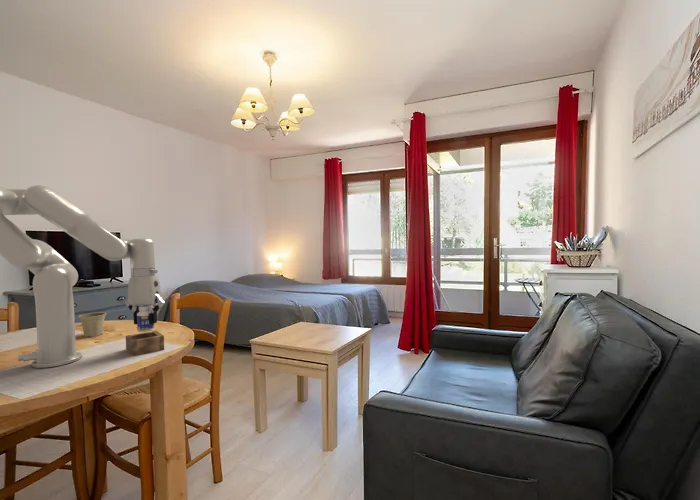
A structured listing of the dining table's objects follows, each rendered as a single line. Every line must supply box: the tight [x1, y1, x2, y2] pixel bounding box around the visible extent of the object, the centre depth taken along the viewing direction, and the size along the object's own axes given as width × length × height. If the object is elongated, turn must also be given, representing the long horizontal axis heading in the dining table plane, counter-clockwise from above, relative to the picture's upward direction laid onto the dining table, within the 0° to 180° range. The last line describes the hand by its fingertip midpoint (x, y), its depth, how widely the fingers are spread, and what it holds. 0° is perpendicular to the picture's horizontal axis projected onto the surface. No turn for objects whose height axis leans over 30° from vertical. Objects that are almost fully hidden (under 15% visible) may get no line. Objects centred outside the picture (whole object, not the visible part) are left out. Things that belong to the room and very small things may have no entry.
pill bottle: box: [136, 305, 155, 333], centre depth 127 cm, size 5×5×9 cm
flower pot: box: [78, 311, 107, 338], centre depth 147 cm, size 9×9×9 cm
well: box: [125, 330, 165, 357], centre depth 127 cm, size 10×10×5 cm
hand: (145, 322), depth 127 cm, fingers closed on pill bottle, 5 cm apart
